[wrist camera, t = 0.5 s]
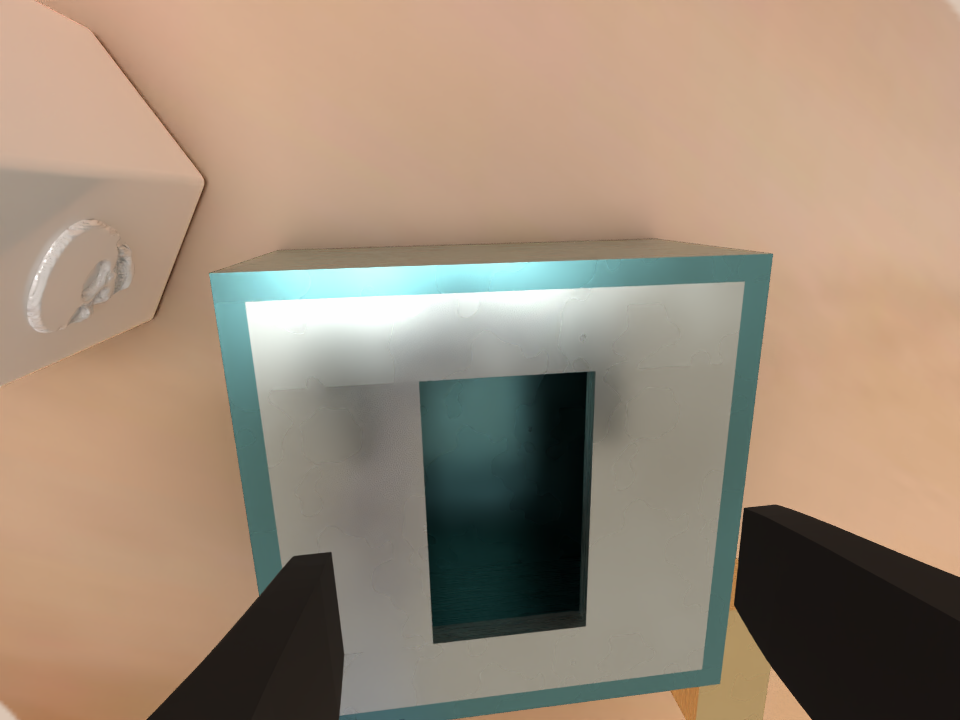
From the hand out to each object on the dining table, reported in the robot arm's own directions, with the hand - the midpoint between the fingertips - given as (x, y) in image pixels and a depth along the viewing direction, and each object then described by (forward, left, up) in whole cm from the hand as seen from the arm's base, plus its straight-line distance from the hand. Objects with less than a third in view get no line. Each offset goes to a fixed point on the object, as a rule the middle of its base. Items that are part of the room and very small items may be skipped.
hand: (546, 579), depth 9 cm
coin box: (-1, 0, -10) cm, 10 cm away
